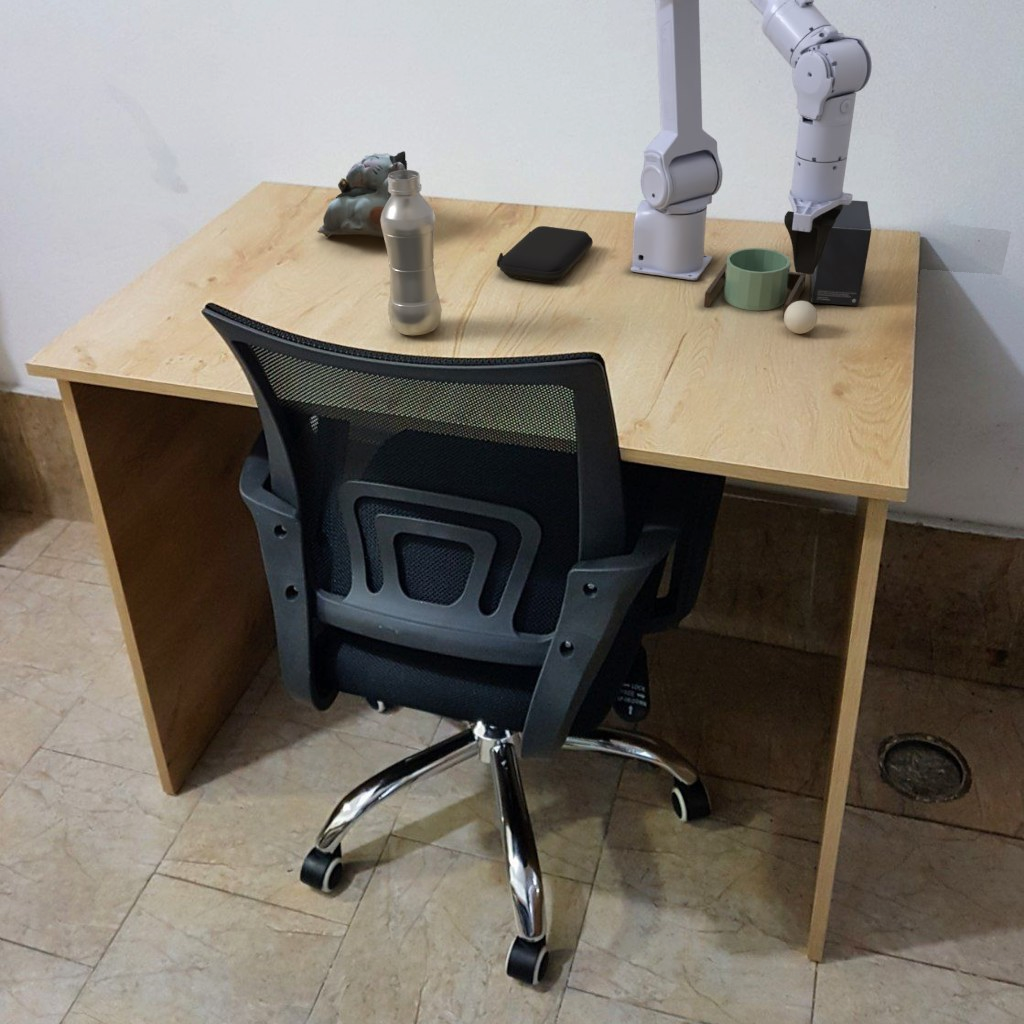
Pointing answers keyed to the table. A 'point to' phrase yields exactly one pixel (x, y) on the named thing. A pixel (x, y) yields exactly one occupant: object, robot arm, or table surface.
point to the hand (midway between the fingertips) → (806, 268)
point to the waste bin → (756, 279)
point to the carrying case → (545, 254)
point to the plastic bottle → (410, 256)
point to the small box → (843, 258)
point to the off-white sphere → (800, 317)
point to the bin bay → (794, 282)
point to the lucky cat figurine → (362, 196)
